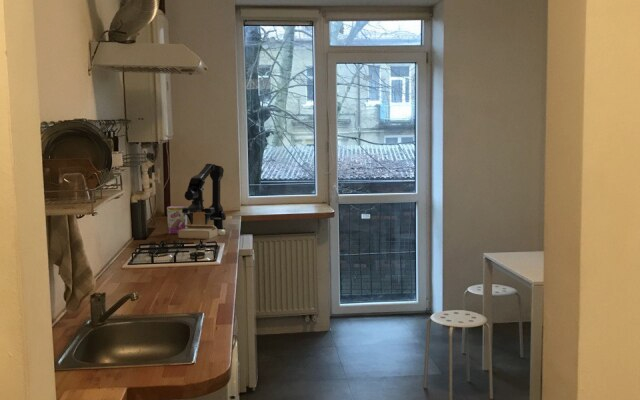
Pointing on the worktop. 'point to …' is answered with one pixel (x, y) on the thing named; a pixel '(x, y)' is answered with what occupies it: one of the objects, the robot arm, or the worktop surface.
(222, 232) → the cream dish
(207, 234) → the small cream bookshelf
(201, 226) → the flap
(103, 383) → the worktop surface
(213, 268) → the worktop surface
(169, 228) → the candy bar box
